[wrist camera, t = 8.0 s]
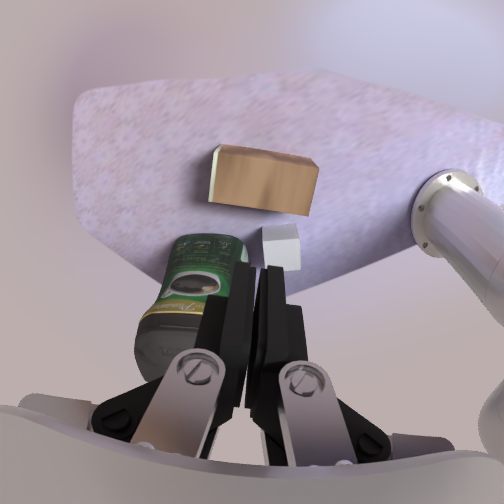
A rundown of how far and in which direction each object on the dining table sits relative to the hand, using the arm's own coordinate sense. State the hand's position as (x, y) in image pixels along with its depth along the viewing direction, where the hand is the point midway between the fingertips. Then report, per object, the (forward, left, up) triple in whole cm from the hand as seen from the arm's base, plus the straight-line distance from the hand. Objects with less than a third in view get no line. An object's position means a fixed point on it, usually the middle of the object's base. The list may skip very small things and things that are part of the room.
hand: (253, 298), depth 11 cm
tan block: (+4, +1, -22) cm, 22 cm away
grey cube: (-4, +9, -24) cm, 26 cm away
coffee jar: (+4, +13, -25) cm, 28 cm away
